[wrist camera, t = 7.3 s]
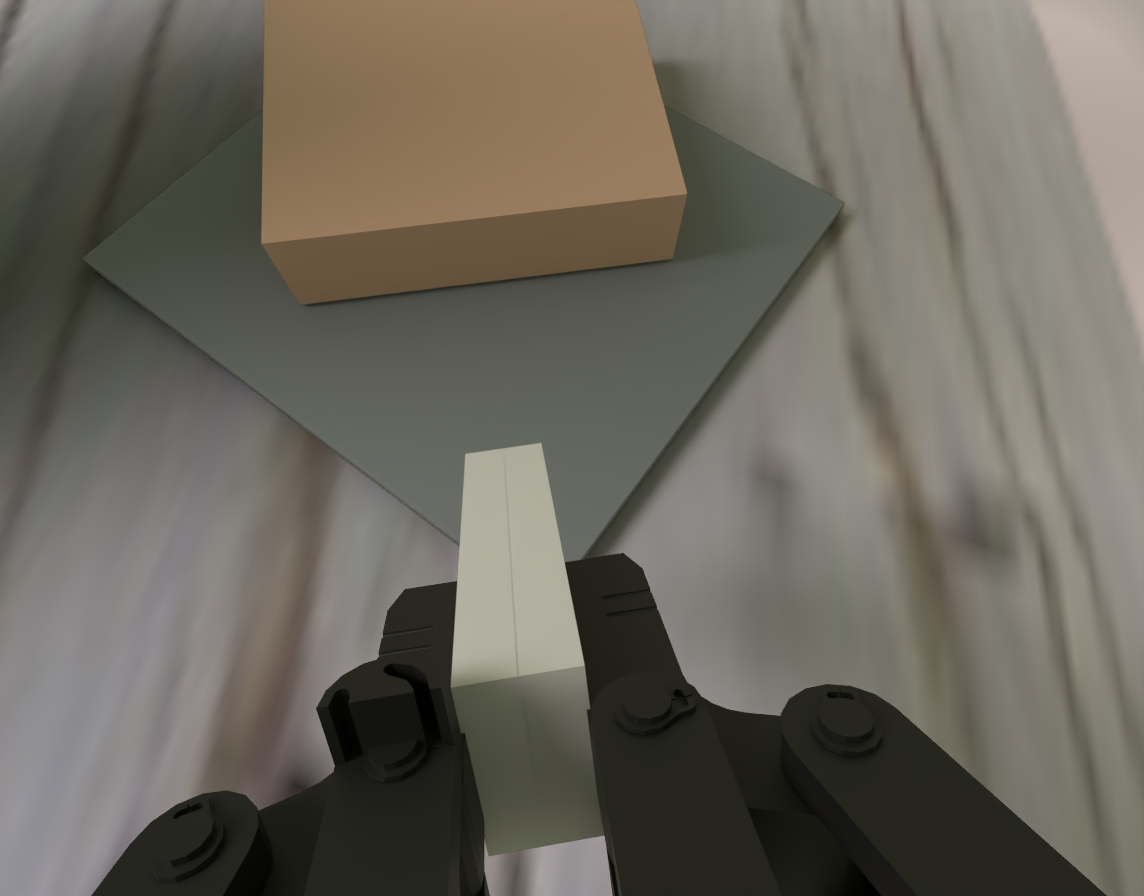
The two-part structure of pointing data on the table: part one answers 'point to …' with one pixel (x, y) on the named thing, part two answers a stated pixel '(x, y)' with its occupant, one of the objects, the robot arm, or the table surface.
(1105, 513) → the table surface
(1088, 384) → the table surface
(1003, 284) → the table surface
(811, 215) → the mat
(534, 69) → the tile
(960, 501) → the table surface
